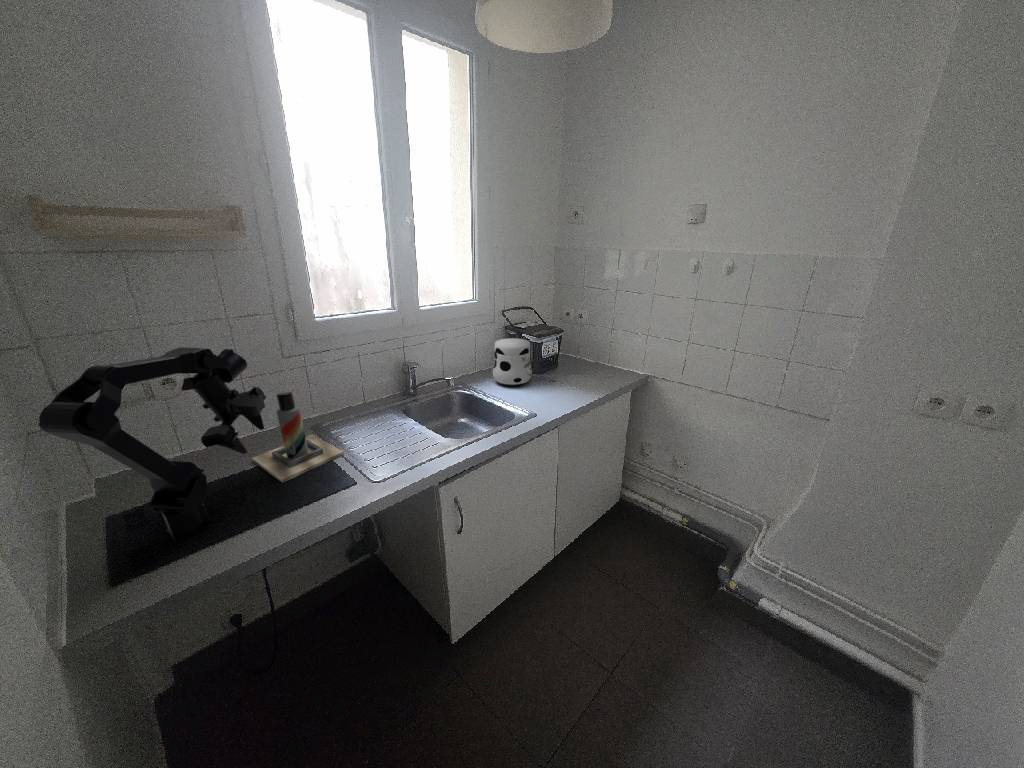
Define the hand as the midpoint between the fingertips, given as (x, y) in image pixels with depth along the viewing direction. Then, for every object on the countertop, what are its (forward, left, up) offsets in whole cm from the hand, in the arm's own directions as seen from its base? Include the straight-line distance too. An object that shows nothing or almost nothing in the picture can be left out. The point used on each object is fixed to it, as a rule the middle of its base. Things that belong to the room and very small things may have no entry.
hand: (254, 440), depth 104 cm
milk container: (+100, -10, -12) cm, 101 cm away
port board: (+11, +3, -12) cm, 16 cm away
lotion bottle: (+11, +2, -11) cm, 15 cm away
